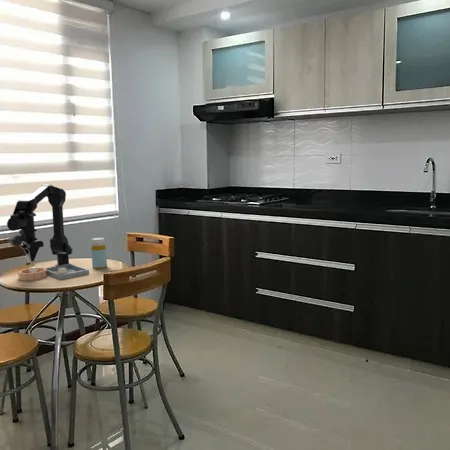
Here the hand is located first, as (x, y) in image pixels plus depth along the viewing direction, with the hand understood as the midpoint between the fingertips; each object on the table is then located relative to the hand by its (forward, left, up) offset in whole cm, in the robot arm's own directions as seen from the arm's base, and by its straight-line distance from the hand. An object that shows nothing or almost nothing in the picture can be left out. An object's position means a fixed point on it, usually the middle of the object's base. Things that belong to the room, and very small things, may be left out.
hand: (30, 260), depth 219 cm
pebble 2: (-3, +2, -8) cm, 9 cm away
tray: (+3, +14, -8) cm, 17 cm away
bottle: (+5, +31, -9) cm, 33 cm away
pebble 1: (0, 0, -1) cm, 1 cm away
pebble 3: (+9, +10, -8) cm, 16 cm away
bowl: (-2, +1, -8) cm, 9 cm away
